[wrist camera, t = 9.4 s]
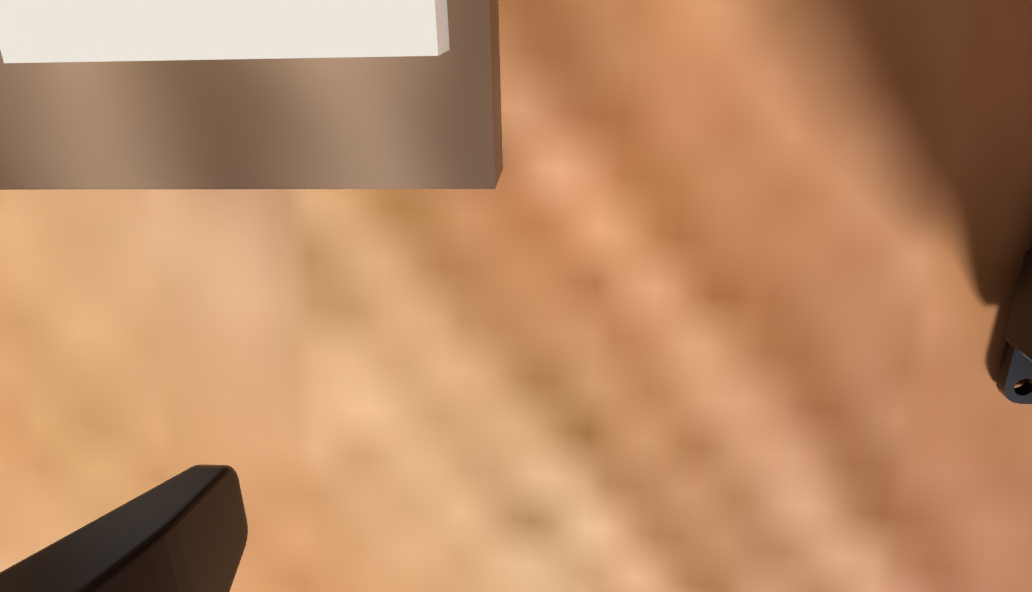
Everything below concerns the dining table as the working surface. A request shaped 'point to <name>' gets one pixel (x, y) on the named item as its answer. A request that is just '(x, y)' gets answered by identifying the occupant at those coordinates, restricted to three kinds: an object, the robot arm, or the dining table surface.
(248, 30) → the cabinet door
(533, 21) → the dining table surface
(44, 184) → the peg board
